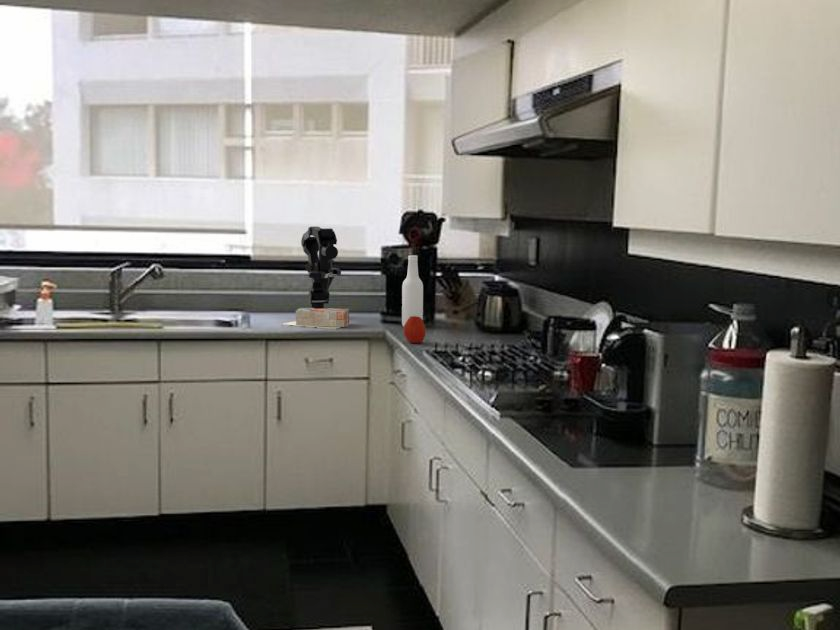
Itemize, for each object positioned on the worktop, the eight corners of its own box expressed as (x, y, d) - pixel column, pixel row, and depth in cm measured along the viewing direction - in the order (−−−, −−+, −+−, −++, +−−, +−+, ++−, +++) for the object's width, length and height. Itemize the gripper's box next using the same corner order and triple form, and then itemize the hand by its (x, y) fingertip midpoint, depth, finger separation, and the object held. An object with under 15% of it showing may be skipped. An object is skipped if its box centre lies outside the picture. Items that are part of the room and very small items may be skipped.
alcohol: (397, 326, 385) (398, 255, 381) (410, 324, 391) (411, 254, 388) (414, 328, 379) (414, 256, 375) (426, 326, 386) (427, 255, 382)
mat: (295, 321, 396) (295, 320, 396) (348, 325, 386) (348, 324, 386) (281, 325, 385) (281, 324, 385) (335, 329, 375) (335, 328, 375)
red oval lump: (400, 343, 340) (400, 315, 339) (408, 340, 348) (408, 312, 347) (420, 345, 338) (421, 316, 336) (428, 341, 345) (429, 313, 344)
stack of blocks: (300, 321, 393) (293, 325, 380) (300, 307, 392) (293, 311, 380) (349, 323, 390) (344, 327, 378) (349, 308, 390) (344, 312, 378)
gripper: (319, 254, 408) (319, 289, 411) (298, 257, 391) (298, 293, 394) (341, 256, 404) (341, 291, 406) (320, 259, 387) (320, 295, 389)
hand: (325, 292), depth 399 cm, fingers closed
